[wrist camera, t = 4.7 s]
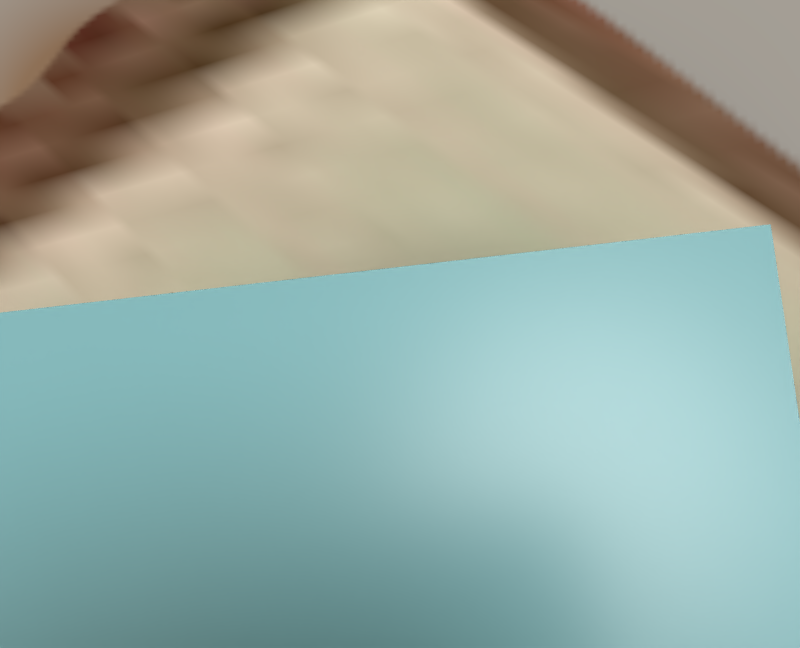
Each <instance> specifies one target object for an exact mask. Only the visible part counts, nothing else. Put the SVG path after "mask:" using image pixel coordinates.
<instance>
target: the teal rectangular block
mask: <svg viewBox="0 0 800 648" xmlns="http://www.w3.org/2000/svg"><path fill="white" fill-rule="evenodd" d="M0 648H800V421H799V414H798V407H797V400H796V394H795V387H794V380H793V373H792V367H791V360H790V353H789V346H788V340H787V333H786V326H785V319H784V312H783V306H782V299H781V292H780V285H779V279H778V272H777V265H776V258H775V252H774V245H773V238H772V231H771V225H762V226H753V227H744V228H736V229H727V230H718V231H710V232H701V233H692V234H683V235H675V236H666V237H657V238H648V239H640V240H631V241H622V242H614V243H605V244H596V245H587V246H579V247H570V248H561V249H553V250H544V251H535V252H526V253H518V254H509V255H500V256H491V257H483V258H474V259H465V260H457V261H448V262H439V263H430V264H422V265H413V266H404V267H396V268H387V269H378V270H369V271H361V272H352V273H343V274H334V275H326V276H317V277H308V278H300V279H291V280H282V281H273V282H265V283H256V284H247V285H239V286H230V287H221V288H212V289H204V290H195V291H186V292H177V293H169V294H160V295H151V296H143V297H134V298H125V299H116V300H108V301H99V302H90V303H82V304H73V305H64V306H55V307H47V308H38V309H29V310H20V311H12V312H3V313H0Z"/></svg>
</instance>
